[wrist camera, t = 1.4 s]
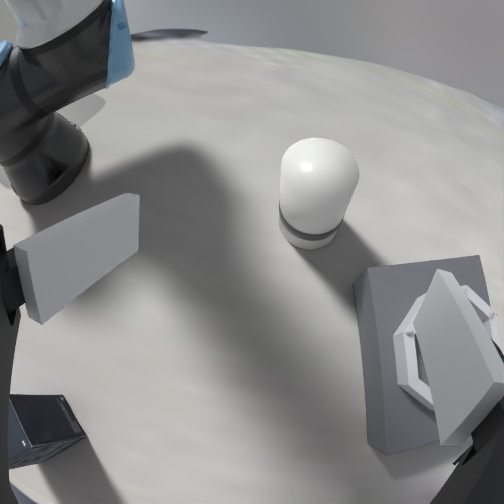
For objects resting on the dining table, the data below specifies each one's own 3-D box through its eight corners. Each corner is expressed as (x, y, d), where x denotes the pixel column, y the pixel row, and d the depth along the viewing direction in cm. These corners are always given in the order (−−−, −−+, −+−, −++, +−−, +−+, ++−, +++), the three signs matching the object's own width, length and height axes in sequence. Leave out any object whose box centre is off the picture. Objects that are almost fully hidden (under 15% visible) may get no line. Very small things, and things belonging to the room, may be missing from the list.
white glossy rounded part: (275, 197, 39) (276, 139, 29) (332, 194, 39) (349, 136, 28) (281, 252, 36) (285, 205, 26) (342, 247, 36) (367, 200, 26)
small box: (62, 390, 32) (5, 389, 22) (88, 436, 30) (34, 449, 20) (19, 422, 30) (-35, 425, 20) (41, 464, 28) (-11, 476, 18)
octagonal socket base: (352, 284, 34) (375, 258, 27) (454, 271, 34) (491, 246, 26) (367, 442, 28) (395, 462, 20) (471, 412, 28) (514, 416, 20)
